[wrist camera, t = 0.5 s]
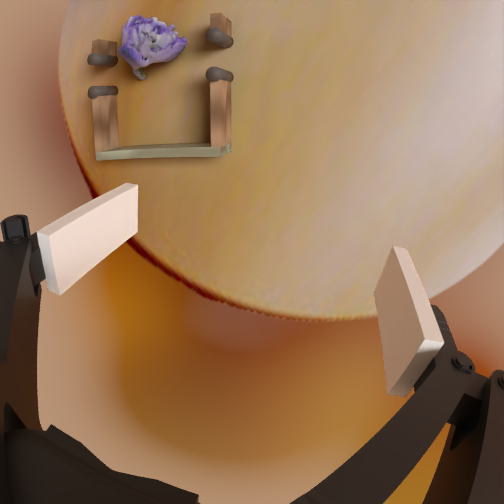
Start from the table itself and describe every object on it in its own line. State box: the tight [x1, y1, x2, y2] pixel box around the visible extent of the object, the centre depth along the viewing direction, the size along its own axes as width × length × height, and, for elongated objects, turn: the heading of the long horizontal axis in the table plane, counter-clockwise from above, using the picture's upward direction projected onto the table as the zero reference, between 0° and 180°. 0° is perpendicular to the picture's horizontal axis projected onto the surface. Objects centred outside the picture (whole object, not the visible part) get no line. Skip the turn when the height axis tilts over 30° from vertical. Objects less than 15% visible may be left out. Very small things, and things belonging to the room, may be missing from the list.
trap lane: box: [87, 13, 233, 161], centre depth 35 cm, size 18×20×5 cm
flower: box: [118, 15, 187, 80], centre depth 32 cm, size 9×9×10 cm
